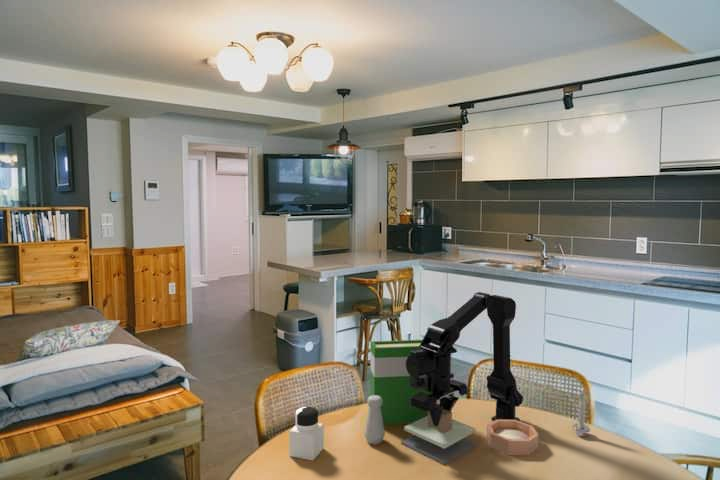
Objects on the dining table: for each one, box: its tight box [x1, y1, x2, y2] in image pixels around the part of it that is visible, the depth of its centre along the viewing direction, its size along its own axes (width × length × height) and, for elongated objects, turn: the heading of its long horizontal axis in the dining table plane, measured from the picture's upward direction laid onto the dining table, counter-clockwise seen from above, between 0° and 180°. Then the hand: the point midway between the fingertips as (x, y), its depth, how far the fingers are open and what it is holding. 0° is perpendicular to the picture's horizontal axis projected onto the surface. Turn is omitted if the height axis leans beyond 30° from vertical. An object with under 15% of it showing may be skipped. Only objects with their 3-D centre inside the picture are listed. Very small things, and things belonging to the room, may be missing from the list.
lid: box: [403, 409, 476, 449], centre depth 136 cm, size 14×14×6 cm
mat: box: [400, 434, 478, 466], centre depth 136 cm, size 15×15×1 cm
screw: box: [571, 391, 591, 438], centre depth 142 cm, size 13×5×5 cm
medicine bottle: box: [288, 406, 325, 462], centre depth 131 cm, size 7×7×12 cm
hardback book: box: [369, 339, 431, 426], centre depth 152 cm, size 18×7×24 cm, turn 98°
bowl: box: [486, 419, 540, 456], centre depth 137 cm, size 13×13×4 cm
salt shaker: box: [363, 395, 386, 446], centre depth 137 cm, size 6×6×13 cm
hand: (439, 424), depth 136 cm, fingers closed on lid, 3 cm apart
